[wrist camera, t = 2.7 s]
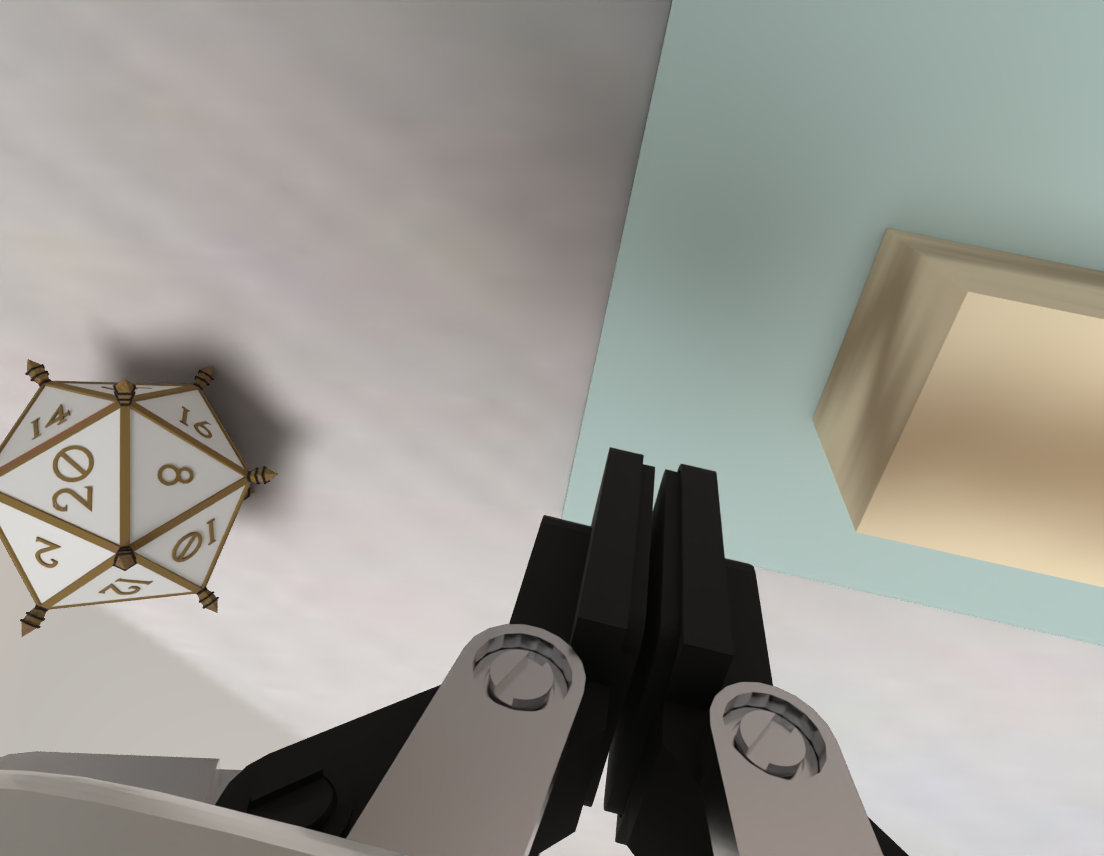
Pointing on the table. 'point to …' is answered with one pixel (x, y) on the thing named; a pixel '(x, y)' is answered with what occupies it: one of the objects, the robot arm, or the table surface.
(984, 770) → the table surface
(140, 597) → the game die
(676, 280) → the mat
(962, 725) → the table surface
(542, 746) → the robot arm
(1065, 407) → the block
